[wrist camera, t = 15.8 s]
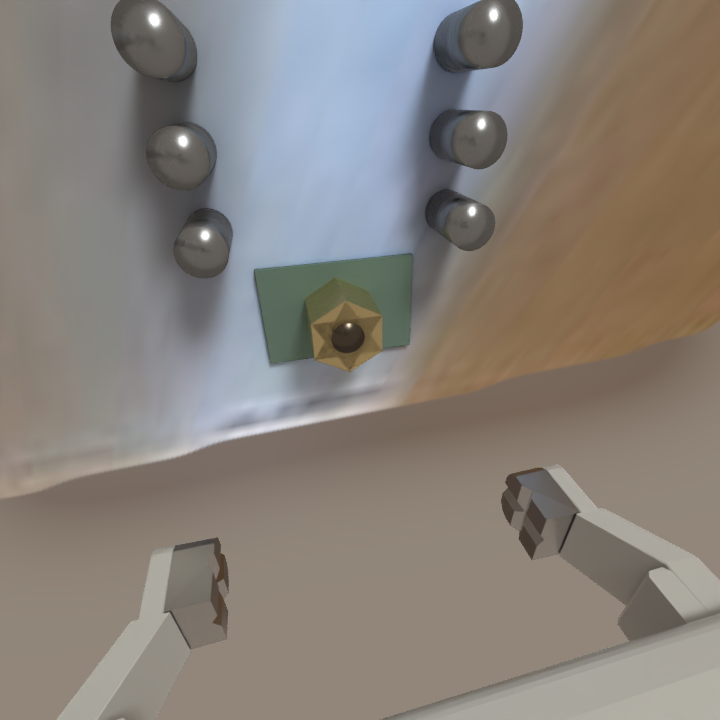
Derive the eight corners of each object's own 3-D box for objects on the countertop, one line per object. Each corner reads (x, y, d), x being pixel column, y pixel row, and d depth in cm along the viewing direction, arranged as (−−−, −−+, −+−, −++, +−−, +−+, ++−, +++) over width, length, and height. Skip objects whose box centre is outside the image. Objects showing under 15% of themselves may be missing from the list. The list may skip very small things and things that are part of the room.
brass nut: (310, 346, 34) (316, 377, 30) (302, 280, 31) (308, 305, 27) (369, 338, 35) (382, 367, 31) (367, 273, 32) (382, 296, 28)
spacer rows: (192, 254, 29) (181, 280, 25) (130, 14, 22) (100, -6, 18) (461, 229, 32) (491, 248, 28) (482, 11, 25) (527, -7, 21)
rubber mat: (270, 360, 34) (271, 363, 34) (254, 269, 30) (254, 271, 30) (408, 342, 36) (409, 344, 36) (411, 253, 32) (412, 255, 32)
